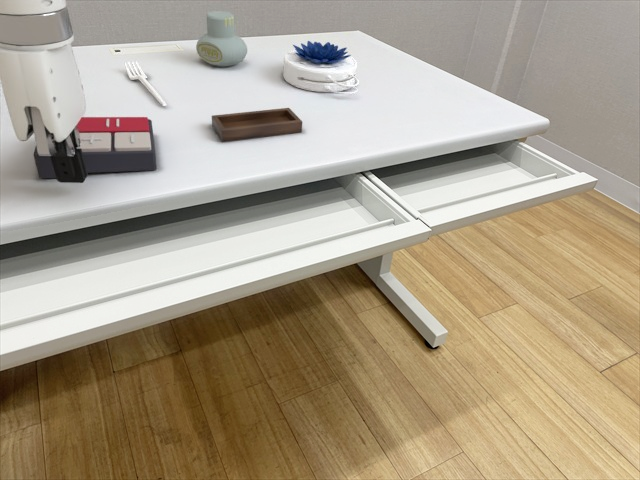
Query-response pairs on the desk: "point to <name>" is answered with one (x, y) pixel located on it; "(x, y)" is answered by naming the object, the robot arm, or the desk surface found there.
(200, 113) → the desk surface
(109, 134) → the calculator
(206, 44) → the air freshener
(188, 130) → the desk surface
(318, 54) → the box with blue lotus
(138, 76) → the fork
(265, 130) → the pen tray
